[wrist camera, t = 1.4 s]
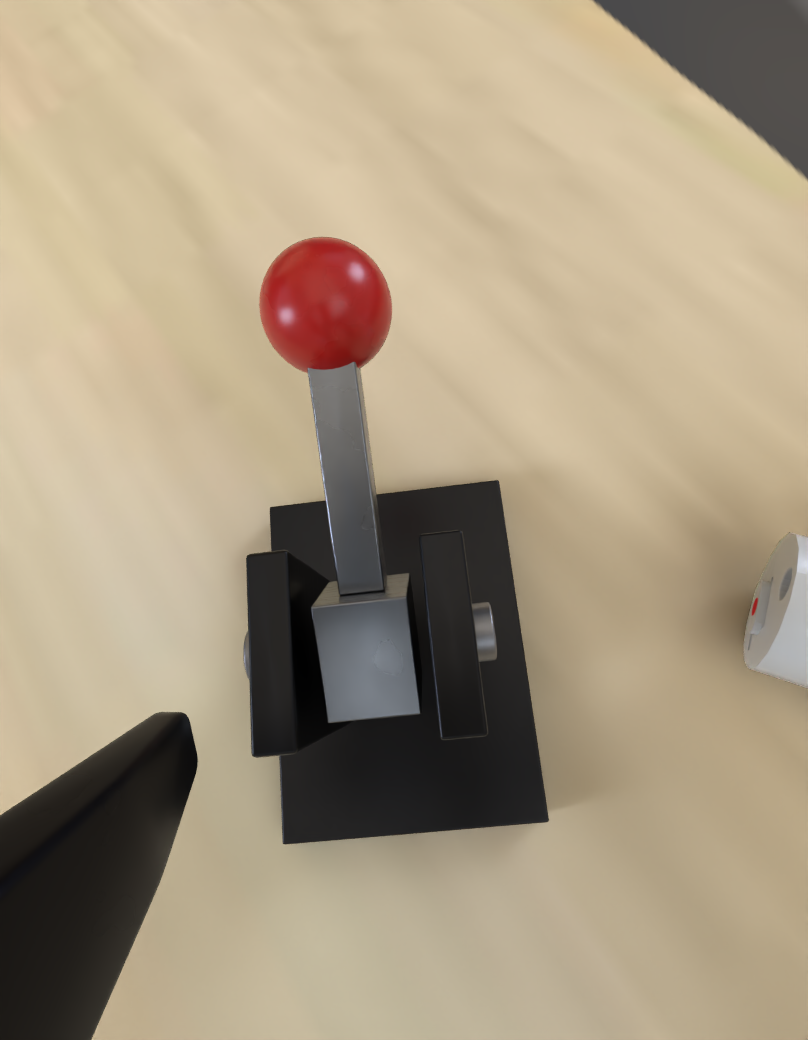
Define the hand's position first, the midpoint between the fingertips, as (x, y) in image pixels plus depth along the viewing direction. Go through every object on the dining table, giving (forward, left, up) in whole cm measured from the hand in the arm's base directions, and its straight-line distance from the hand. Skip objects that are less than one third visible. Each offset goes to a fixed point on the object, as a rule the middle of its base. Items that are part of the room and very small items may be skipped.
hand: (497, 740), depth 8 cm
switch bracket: (0, +3, -14) cm, 14 cm away
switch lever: (+4, +5, -6) cm, 9 cm away
